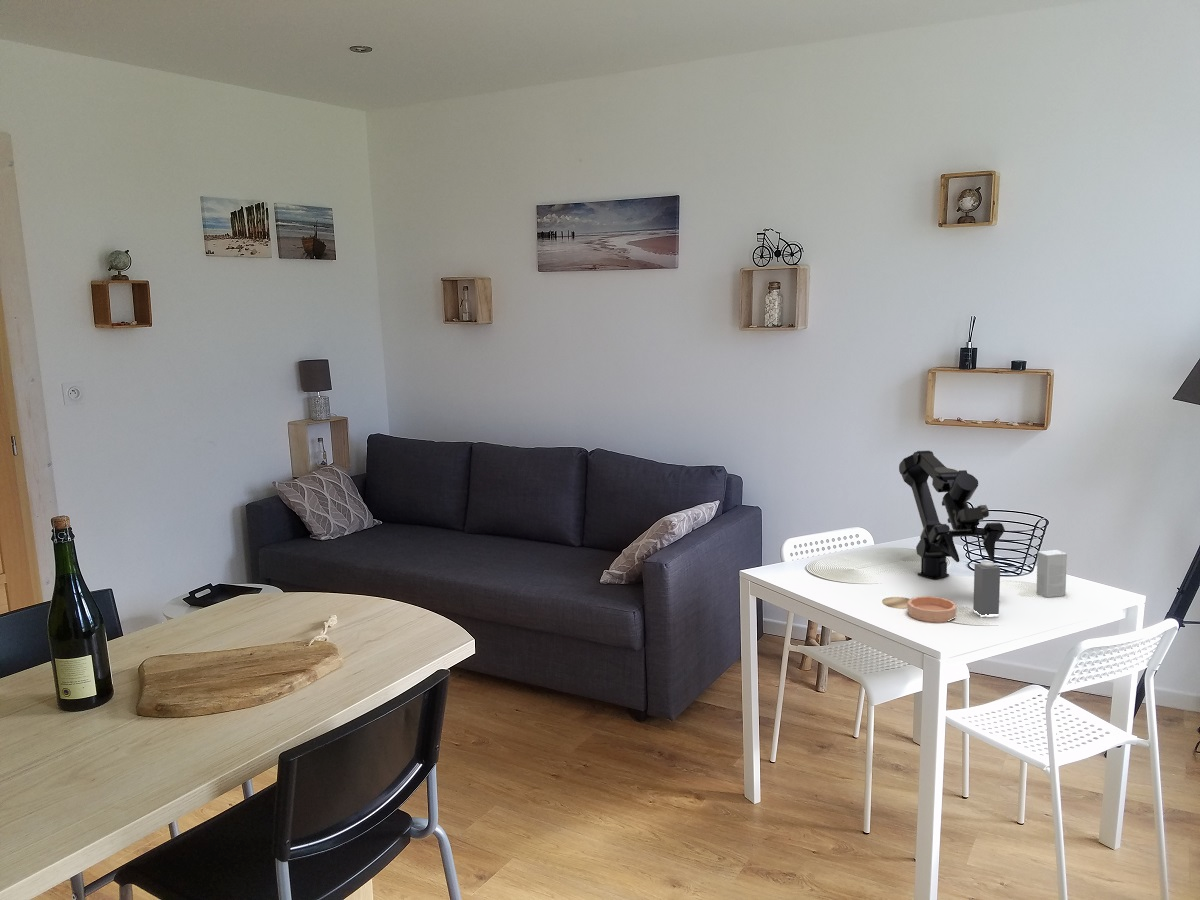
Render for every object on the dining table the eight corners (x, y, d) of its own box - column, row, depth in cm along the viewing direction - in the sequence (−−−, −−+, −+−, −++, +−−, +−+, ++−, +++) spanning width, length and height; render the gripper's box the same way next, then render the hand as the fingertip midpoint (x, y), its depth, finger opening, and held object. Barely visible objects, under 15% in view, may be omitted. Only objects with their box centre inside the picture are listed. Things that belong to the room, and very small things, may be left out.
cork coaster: (876, 605, 232) (876, 603, 232) (891, 596, 239) (891, 594, 238) (908, 612, 226) (908, 610, 226) (922, 603, 232) (922, 601, 232)
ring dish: (898, 613, 224) (898, 602, 224) (927, 604, 230) (927, 593, 230) (936, 626, 214) (936, 614, 214) (965, 616, 220) (965, 605, 220)
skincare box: (1055, 591, 237) (1056, 549, 235) (1065, 596, 233) (1067, 553, 231) (1035, 593, 236) (1037, 551, 234) (1045, 598, 232) (1047, 555, 230)
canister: (973, 611, 223) (974, 560, 221) (990, 611, 223) (991, 559, 221) (981, 617, 219) (982, 565, 217) (998, 617, 219) (1000, 564, 217)
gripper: (933, 496, 229) (950, 547, 219) (1002, 493, 229) (1022, 543, 220) (921, 518, 237) (937, 568, 228) (987, 515, 238) (1006, 565, 229)
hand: (975, 560), depth 226 cm, fingers open, 9 cm apart
